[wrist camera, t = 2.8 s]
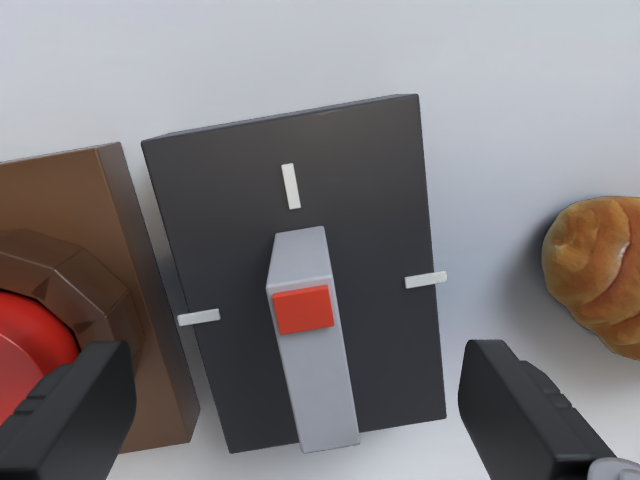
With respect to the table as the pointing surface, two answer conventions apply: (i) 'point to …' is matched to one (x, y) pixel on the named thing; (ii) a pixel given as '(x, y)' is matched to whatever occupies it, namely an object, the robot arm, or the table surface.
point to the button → (29, 348)
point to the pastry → (598, 268)
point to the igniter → (97, 275)
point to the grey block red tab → (311, 340)
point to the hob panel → (343, 246)
